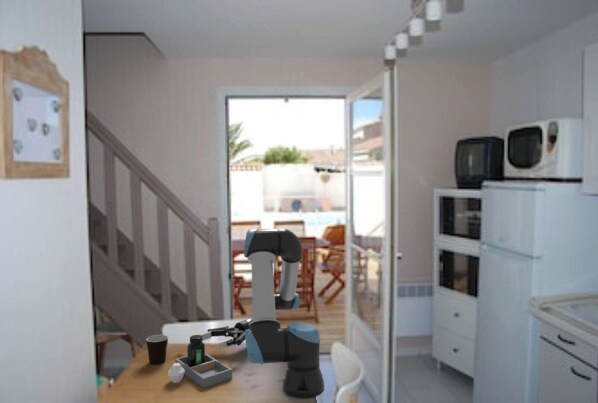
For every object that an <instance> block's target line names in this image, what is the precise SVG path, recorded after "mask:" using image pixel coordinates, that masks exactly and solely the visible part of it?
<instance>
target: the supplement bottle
mask: <svg viewBox="0 0 598 403" xmlns="http://www.w3.org/2000/svg"><path fill="white" fill-rule="evenodd" d="M205 353H206V346H205V343H204V342H203V341H202V336H201V334H194V335H191V336H189V343H188V345H187V354H186V356H187V358H188V366H189V367H193V366H196V365H200V364H203V363H205Z"/></svg>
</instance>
